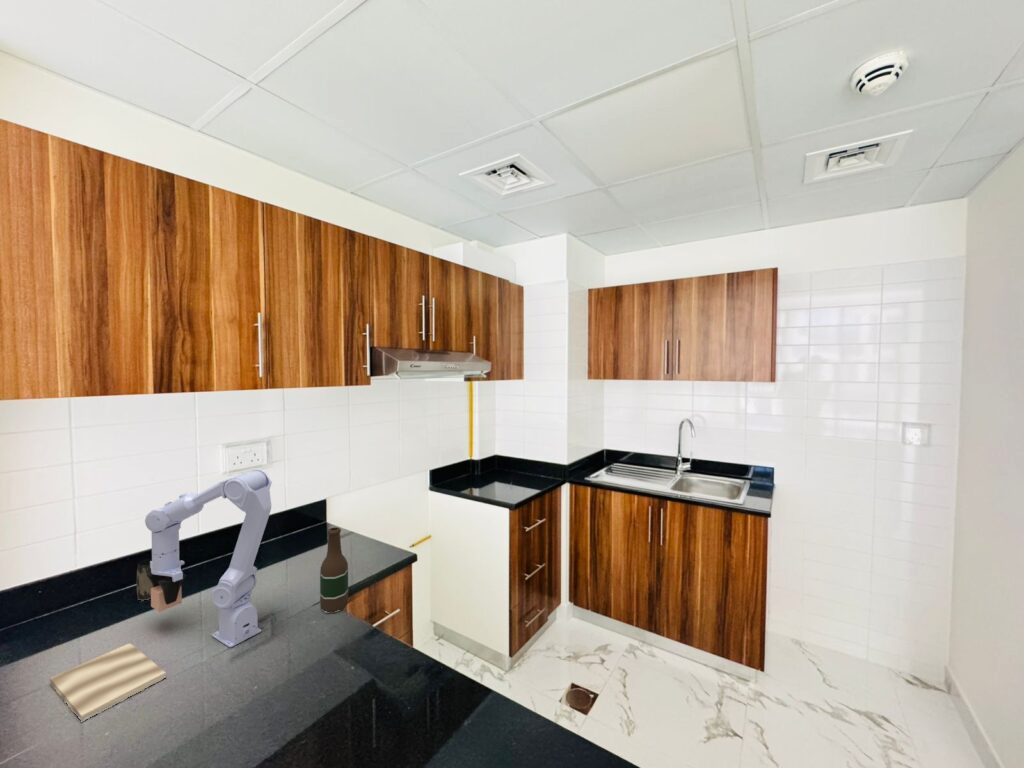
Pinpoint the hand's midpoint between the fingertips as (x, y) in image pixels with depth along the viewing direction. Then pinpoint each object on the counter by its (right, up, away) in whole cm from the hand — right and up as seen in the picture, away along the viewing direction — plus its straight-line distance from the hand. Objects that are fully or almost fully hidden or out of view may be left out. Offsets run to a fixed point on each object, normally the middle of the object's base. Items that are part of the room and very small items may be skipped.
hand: (166, 599), depth 114 cm
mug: (-19, -8, +17) cm, 27 cm away
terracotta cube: (0, -2, 0) cm, 2 cm away
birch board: (+2, -9, -19) cm, 21 cm away
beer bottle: (+41, -9, +12) cm, 43 cm away
